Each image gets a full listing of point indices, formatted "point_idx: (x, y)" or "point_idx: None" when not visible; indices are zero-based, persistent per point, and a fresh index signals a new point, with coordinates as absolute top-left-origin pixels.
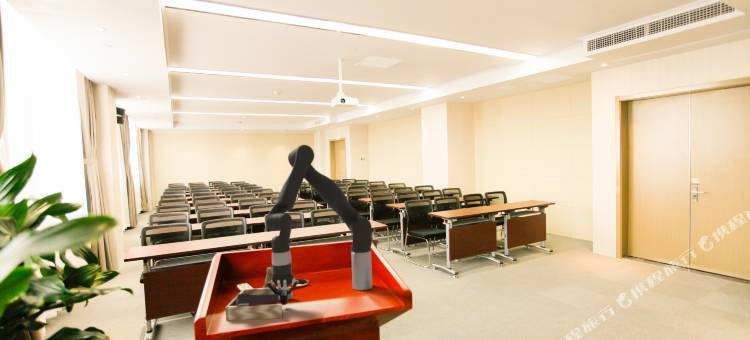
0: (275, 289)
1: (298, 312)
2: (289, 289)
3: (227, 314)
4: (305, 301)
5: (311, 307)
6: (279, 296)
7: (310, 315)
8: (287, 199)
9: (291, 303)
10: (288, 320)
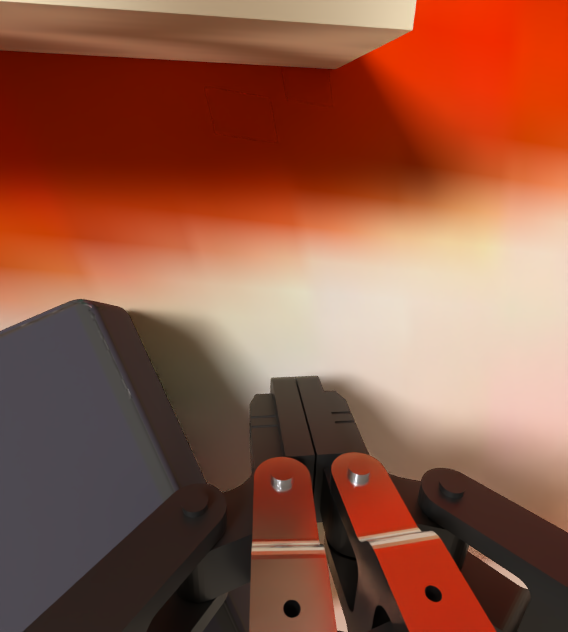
0: (146, 578)
1: None
2: (345, 34)
3: None
4: (522, 195)
5: (561, 373)
6: (115, 49)
7: None
8: None
9: (347, 244)
10: None
